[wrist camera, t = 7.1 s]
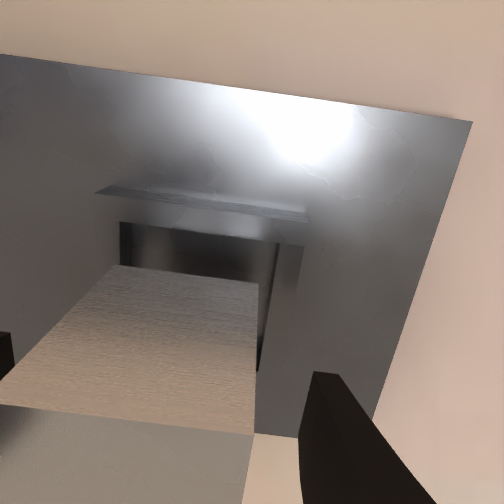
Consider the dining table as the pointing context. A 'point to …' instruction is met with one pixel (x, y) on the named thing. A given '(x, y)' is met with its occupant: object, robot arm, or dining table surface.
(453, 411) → the dining table surface
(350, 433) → the robot arm
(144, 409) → the grey textured cube
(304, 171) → the stand foot
